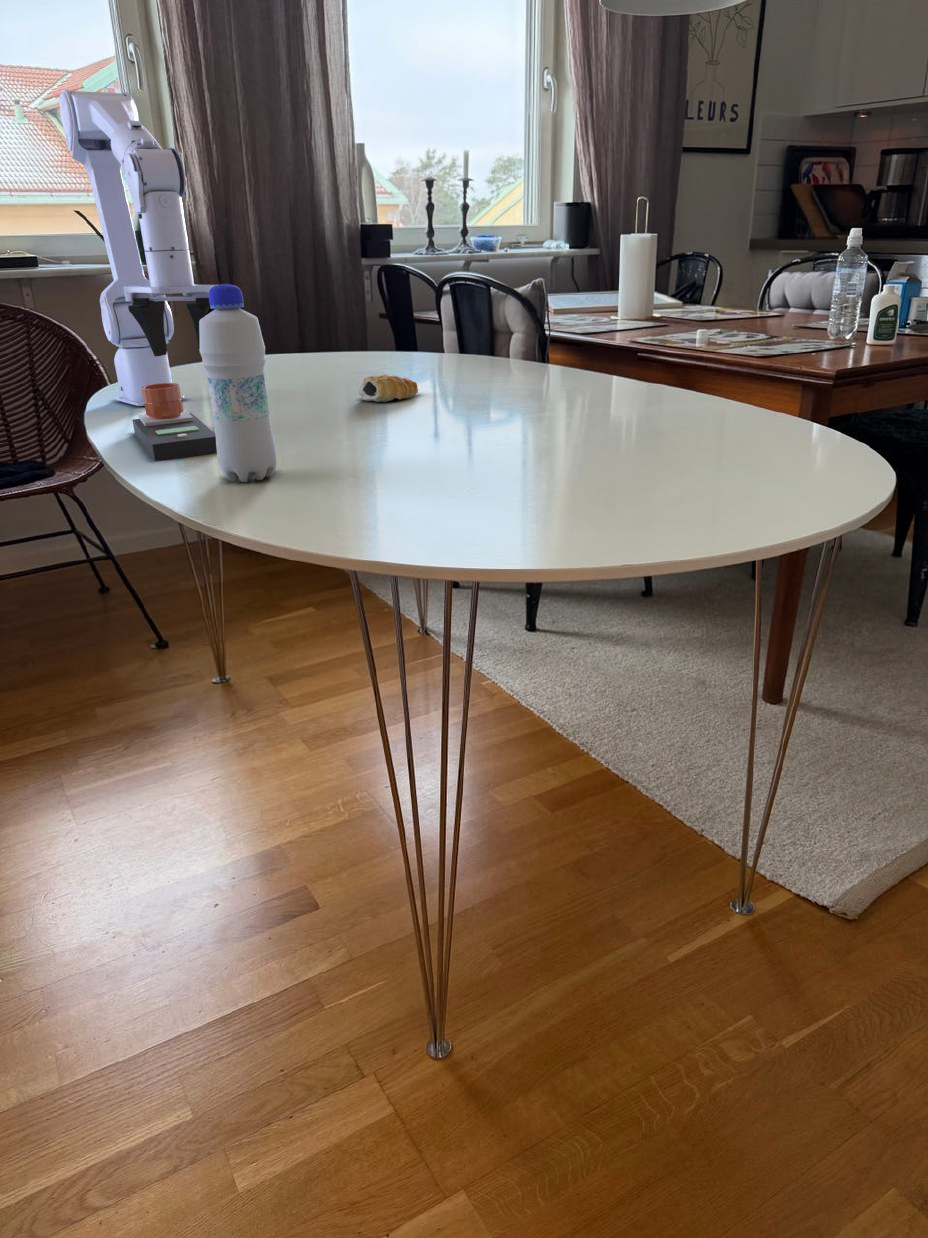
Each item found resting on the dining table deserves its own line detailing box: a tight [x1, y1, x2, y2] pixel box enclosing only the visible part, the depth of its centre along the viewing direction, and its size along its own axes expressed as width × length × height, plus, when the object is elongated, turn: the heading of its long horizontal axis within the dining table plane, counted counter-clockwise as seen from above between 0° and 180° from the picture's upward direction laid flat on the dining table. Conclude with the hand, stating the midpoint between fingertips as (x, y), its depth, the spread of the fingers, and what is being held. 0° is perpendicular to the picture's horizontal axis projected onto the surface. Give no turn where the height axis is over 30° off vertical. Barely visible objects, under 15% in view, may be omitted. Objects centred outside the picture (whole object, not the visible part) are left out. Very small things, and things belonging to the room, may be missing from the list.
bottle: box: [198, 283, 277, 483], centre depth 91 cm, size 7×7×20 cm
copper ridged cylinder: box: [141, 382, 184, 419], centre depth 115 cm, size 5×5×4 cm
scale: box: [131, 409, 217, 462], centre depth 112 cm, size 18×8×2 cm, turn 27°
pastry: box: [359, 374, 419, 403], centre depth 136 cm, size 9×7×4 cm
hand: (183, 355), depth 120 cm, fingers open, 7 cm apart
